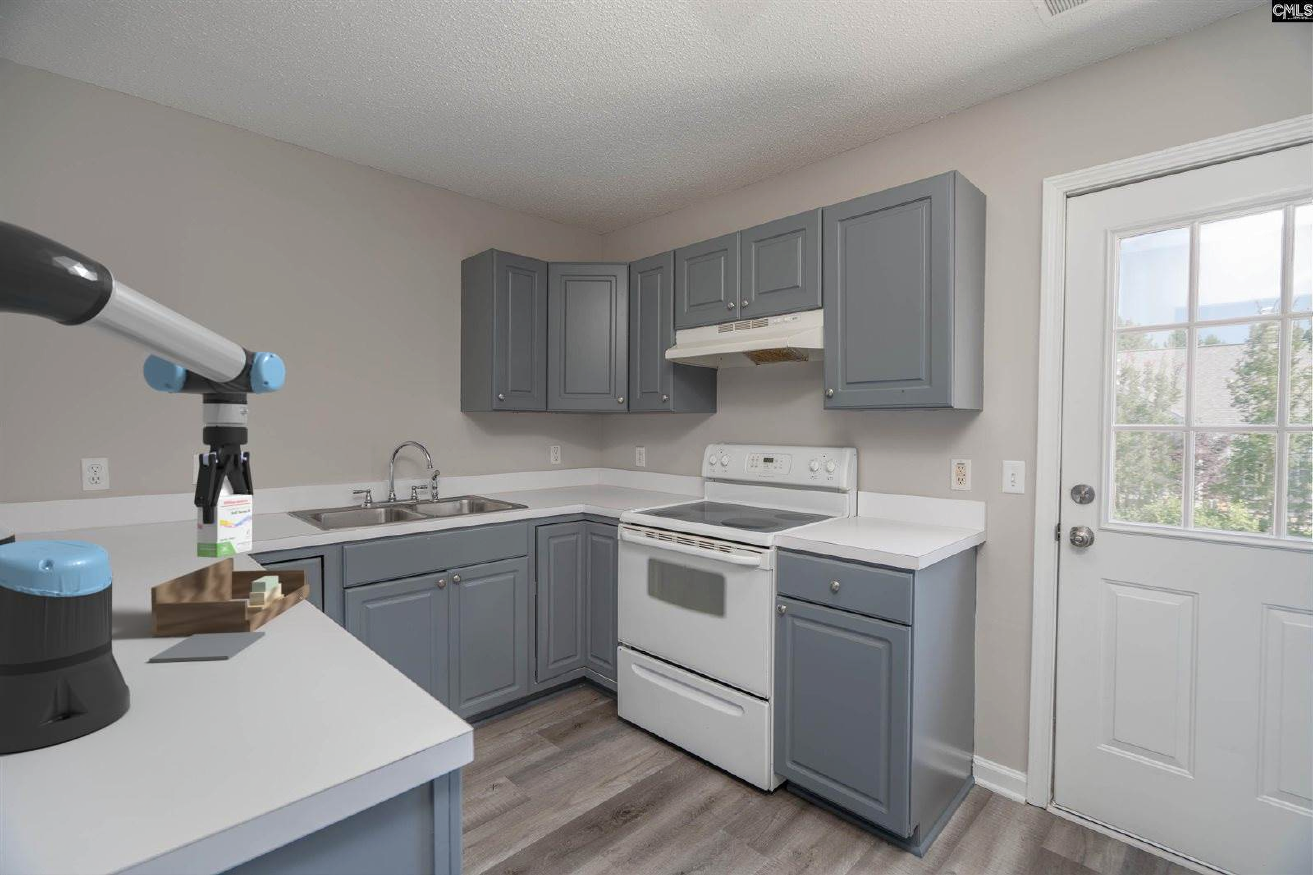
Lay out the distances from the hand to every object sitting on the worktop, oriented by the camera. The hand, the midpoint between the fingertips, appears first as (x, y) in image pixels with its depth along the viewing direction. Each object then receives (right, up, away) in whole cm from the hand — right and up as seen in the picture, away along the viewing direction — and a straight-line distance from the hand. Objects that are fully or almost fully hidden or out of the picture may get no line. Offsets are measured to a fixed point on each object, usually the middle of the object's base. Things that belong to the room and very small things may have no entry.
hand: (225, 535), depth 126 cm
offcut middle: (+7, -13, +2) cm, 15 cm away
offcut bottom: (+7, -16, +1) cm, 18 cm away
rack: (+2, -16, +1) cm, 16 cm away
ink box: (0, -4, 0) cm, 4 cm away
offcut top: (+7, -11, +1) cm, 13 cm away
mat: (+10, -17, -18) cm, 27 cm away
